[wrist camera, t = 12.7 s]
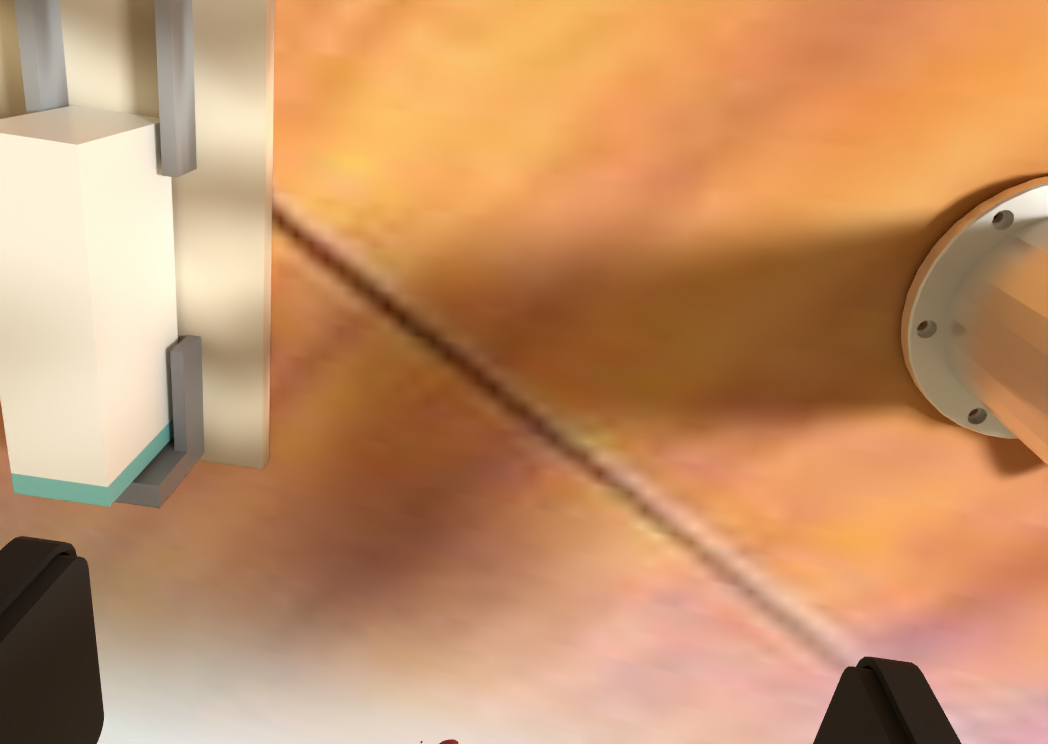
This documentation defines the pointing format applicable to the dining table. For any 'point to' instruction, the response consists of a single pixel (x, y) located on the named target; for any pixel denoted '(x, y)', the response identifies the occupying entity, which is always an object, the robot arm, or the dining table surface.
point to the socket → (175, 431)
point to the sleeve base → (181, 163)
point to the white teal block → (85, 301)
